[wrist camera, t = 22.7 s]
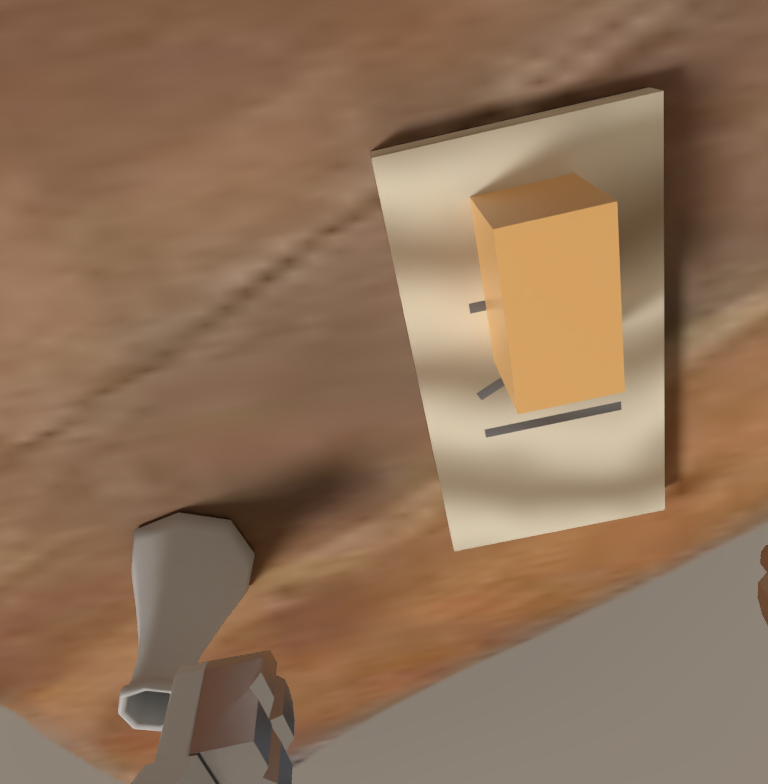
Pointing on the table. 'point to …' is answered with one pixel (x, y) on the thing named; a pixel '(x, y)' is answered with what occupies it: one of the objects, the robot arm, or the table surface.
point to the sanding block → (552, 290)
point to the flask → (179, 603)
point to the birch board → (471, 329)
